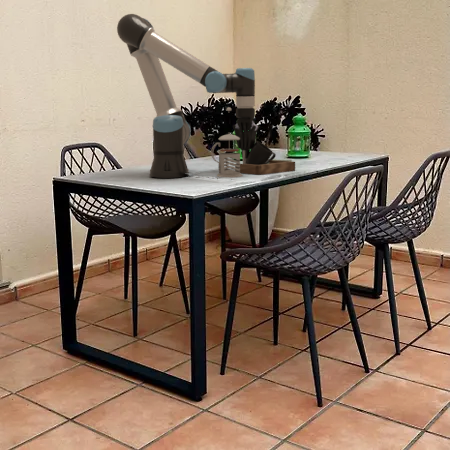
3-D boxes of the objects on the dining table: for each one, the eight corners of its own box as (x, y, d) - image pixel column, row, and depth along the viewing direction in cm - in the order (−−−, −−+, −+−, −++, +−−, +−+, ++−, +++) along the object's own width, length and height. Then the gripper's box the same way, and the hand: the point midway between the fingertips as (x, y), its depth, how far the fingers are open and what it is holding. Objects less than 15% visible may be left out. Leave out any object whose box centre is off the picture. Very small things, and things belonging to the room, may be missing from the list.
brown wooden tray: (258, 174, 238) (258, 165, 238) (235, 172, 247) (235, 163, 247) (295, 170, 253) (295, 161, 252) (271, 168, 262) (271, 160, 261)
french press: (246, 176, 234) (245, 107, 229) (215, 177, 231) (214, 107, 226) (238, 173, 243) (237, 107, 238) (208, 175, 240) (207, 107, 235)
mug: (269, 177, 261) (282, 158, 259) (249, 168, 253) (263, 148, 250) (258, 167, 267) (271, 148, 264) (239, 157, 259) (253, 138, 256)
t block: (286, 168, 264) (286, 160, 263) (262, 167, 269) (262, 160, 268) (293, 166, 271) (293, 159, 270) (269, 165, 276) (269, 158, 275)
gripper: (263, 107, 254) (263, 166, 259) (240, 107, 263) (241, 164, 267) (250, 107, 249) (250, 167, 253) (227, 107, 258) (228, 166, 262)
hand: (245, 166), depth 260 cm, fingers closed, pressing on mug
